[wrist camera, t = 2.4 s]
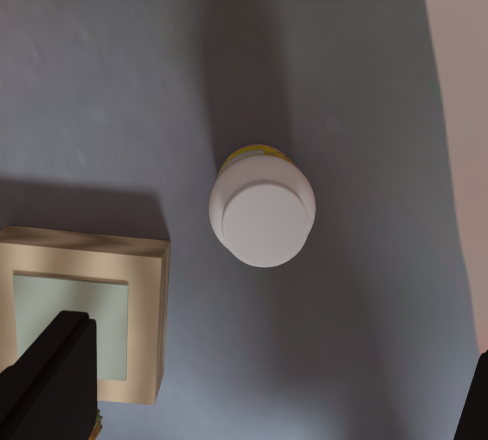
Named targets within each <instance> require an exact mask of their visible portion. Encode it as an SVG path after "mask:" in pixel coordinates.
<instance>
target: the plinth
mask: <svg viewBox="0 0 488 440" xmlns="http://www.w3.org/2000/svg"><path fill="white" fill-rule="evenodd" d="M170 244H171V241H164V240H154V239H144V238H134V237H123V236H113V235H103V234H92V233H82V232H72V231H62V230H51V229H41V228H31V227H21V226H8V227H6V228H4V229H2V230H0V373H1V372H2V371H3V370H4V369H5V368H7V367H8V366H11V365H14V364H15V362H16V361H17V360H18V359H19V358H20V357H21V356H22V354H23V353H24V352H25V351H26V350H27V349H28V348H29V346H30V345H31V344H32V343H33V342H34V341H35V340H36V339H37V337H38V336H39V335H40V334H41V333H42V332H43V331H44V329H45V328H46V327H47V326H48V325H49V324H50V323H51V321H52V320H53V319H54V318H55V317H56V316H57V315H58V314H59V312H61V311H62V310H68V311H80V312H87V313H88V314H89V317H90V319H95V320H96V324H97V400H101V401H113V402H125V403H136V404H148V405H155V402H156V398H157V395H158V391H159V388H160V385H161V381H162V378H163V373H164V355H165V336H166V318H167V299H168V281H169V262H170Z"/></svg>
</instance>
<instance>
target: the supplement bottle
mask: <svg viewBox="0 0 488 440" xmlns="http://www.w3.org/2000/svg"><path fill="white" fill-rule="evenodd" d="M315 212H316V205H315V198H314V193H313V190H312V188H311V185H310V184H309V182H308V180H307V179H306V177H305V176H304V175H303V173H302V172H301V171H300V170H299V169H298V168H297V167H296V165H295V164H294V163H293V162H292V161H291V160H290V159H289V158H288V157H287V156H286V155H285V154H284V153H282V152H281V151H279V150H278V149H276V148H274V147H271V146H268V145H263V144H253V145H248V146H244V147H242V148H240V149H238V150H236V151H235V152H233V153H232V154H231V155H230V156H229V157H228V158H227V159H226V160H225V162H224V163H223V165H222V167H221V169H220V171H219V174H218V176H217V179H216V182H215V184H214V187H213V189H212V192H211V196H210V200H209V217H210V222H211V225H212V228H213V231H214V232H215V234H216V236H217V238H218V239H219V240H220V242H221V243H222V244H223V245H224V246H225V247H226V248H227V249H229V250H230V251H231V252H232V253H233V254H234V255H235V256H236V257H237V258H238V259H239V260H241V261H243V262H245V263H246V264H249V265H252V266H256V267H273V266H277V265H280V264H283V263H285V262H287V261H288V260H290V259H291V258H293V257H294V256H295V255H296V254H297V253H298V252H299V251H300V250H301V248H302V247H303V245H304V243H305V241H306V239H307V236H308V234H309V232H310V230H311V228H312V226H313V223H314V219H315Z"/></svg>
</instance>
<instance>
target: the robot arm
mask: <svg viewBox="0 0 488 440" xmlns="http://www.w3.org/2000/svg"><path fill="white" fill-rule="evenodd" d="M96 418H97V324H96V320H95V319H90V317H89V314H88V313H87V312H80V311H68V310H62V311H61V312H59V314H58V315H57V316H56V317H55V318H54V319H53V320H52V321H51V323H50V324H49V325H48V326H47V327H46V328H45V329H44V331H43V332H42V333H41V334H40V335H39V336H38V337H37V339H36V340H35V341H34V342H33V343H32V344H31V345H30V346H29V348H28V349H27V350H26V351H25V352H24V353H23V354H22V356H21V357H20V358H19V359H18V360H17V361H16V362H15V364H14V365H11V366H8V367H7V368H5V369H4V370H3V371H2V372H1V373H0V440H89V437H90V435H91V433H92V431H93V429H94V426H95V423H96ZM454 440H488V350H487V351H486V353H483V354H481V356H480V358H479V361H478V364H477V367H476V370H475V373H474V376H473V380H472V383H471V386H470V389H469V392H468V395H467V398H466V402H465V405H464V408H463V411H462V414H461V417H460V420H459V424H458V427H457V430H456V433H455V436H454Z"/></svg>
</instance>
